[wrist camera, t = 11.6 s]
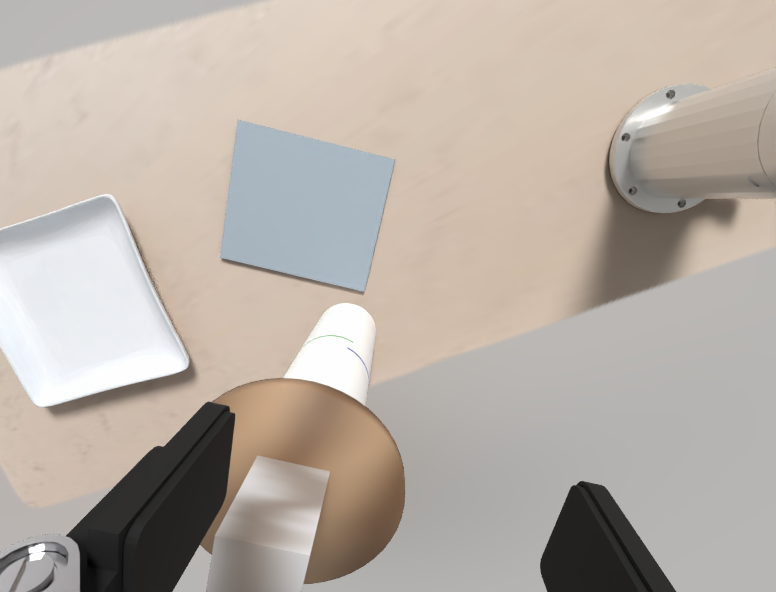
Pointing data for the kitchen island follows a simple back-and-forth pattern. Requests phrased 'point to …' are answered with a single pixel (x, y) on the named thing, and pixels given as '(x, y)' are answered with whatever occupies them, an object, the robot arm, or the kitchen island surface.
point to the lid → (302, 488)
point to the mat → (304, 206)
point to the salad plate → (81, 305)
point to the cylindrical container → (339, 351)
